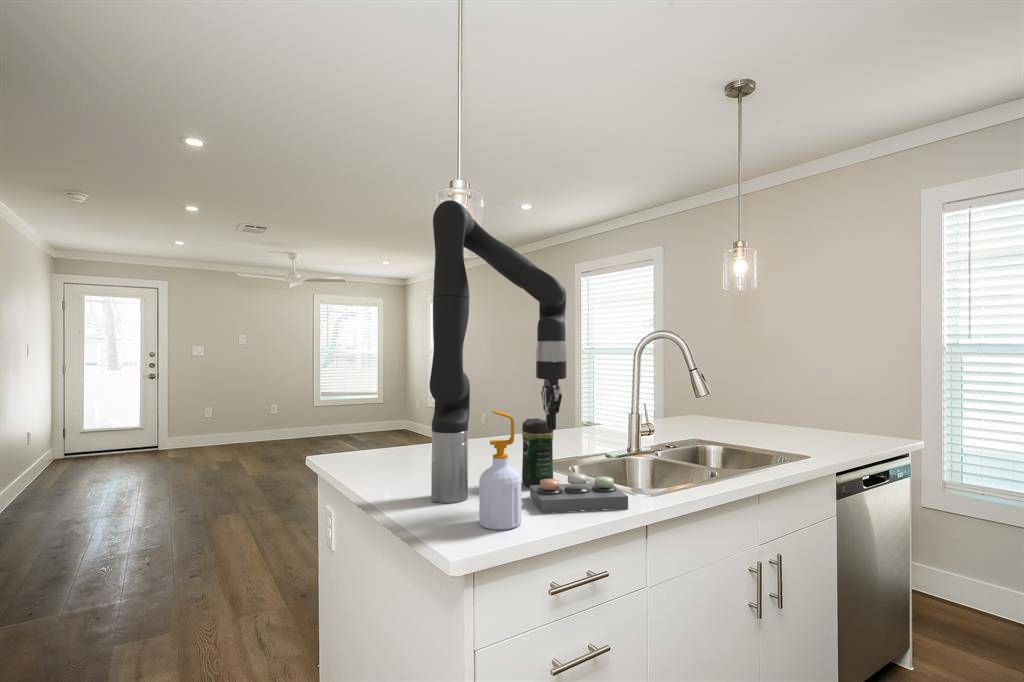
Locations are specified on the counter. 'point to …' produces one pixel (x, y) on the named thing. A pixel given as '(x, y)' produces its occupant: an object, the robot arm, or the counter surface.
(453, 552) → the counter surface
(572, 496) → the button panel
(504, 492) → the soap bottle
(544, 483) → the terracotta button
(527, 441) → the coffee jar
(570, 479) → the white button
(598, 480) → the sage button
